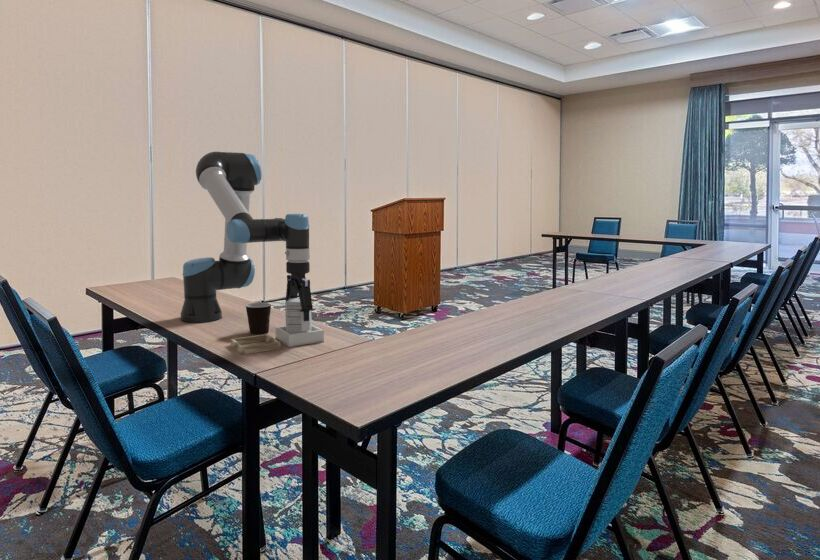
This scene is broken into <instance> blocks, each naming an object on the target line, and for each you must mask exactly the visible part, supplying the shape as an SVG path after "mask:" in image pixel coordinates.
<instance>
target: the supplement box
mask: <svg viewBox="0 0 820 560" xmlns="http://www.w3.org/2000/svg"><path fill="white" fill-rule="evenodd" d="M284 306H285V326H286V332H287V333H289V334H296V333H303V332H310V331H312V325H313V322H312V318H313V317H312V310H310V311H309V316H310V330H307V331H301V312H300V310H301V309H302V308H301V303H300V299H299V297H297V298H290V299H289V300H287V301H286V300H285V303H284Z"/></svg>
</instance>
